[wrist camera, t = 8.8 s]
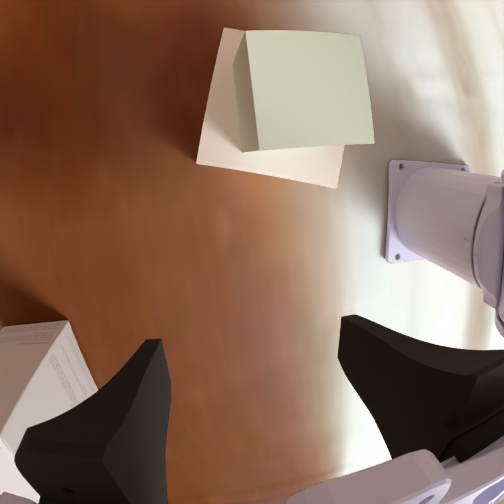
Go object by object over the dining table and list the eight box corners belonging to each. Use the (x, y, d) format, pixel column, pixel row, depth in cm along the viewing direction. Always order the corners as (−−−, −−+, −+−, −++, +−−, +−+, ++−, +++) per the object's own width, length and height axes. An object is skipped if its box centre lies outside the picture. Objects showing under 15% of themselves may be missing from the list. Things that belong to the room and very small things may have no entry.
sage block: (319, 62, 16) (360, 35, 11) (329, 145, 17) (374, 143, 12) (232, 64, 15) (245, 30, 10) (241, 152, 16) (259, 150, 12)
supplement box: (2, 324, 20) (-75, 417, 8) (70, 317, 21) (-1, 435, 9) (34, 392, 22) (-12, 493, 10) (100, 391, 23) (68, 513, 11)
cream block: (331, 76, 20) (357, 62, 16) (313, 183, 22) (336, 188, 18) (218, 49, 18) (223, 27, 14) (196, 162, 20) (196, 163, 16)
